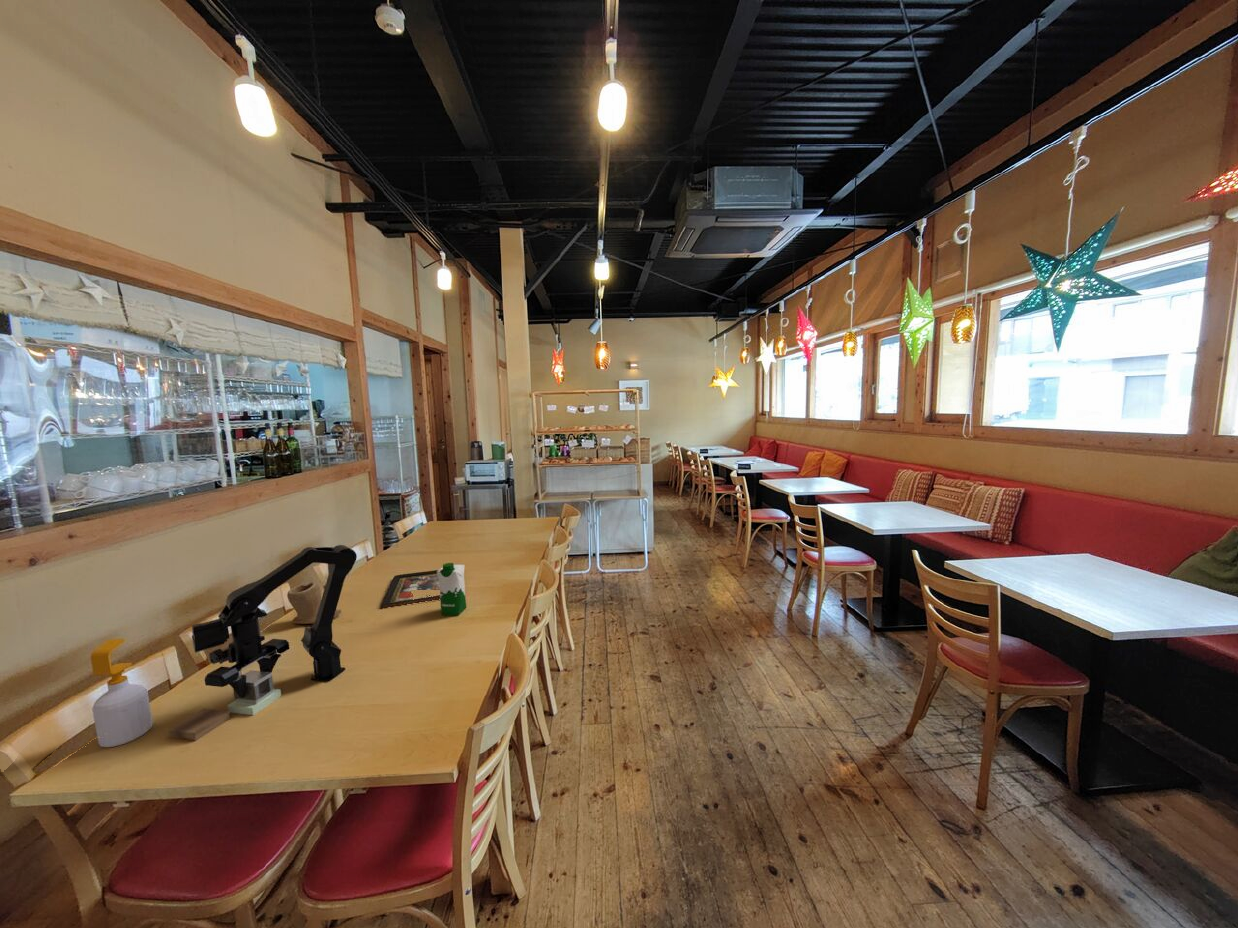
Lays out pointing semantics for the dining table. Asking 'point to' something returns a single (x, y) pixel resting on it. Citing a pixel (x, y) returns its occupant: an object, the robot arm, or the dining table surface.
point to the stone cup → (306, 602)
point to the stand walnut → (199, 724)
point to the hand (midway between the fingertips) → (253, 690)
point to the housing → (256, 687)
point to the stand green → (253, 708)
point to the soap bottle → (118, 701)
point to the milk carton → (452, 589)
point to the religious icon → (410, 588)
